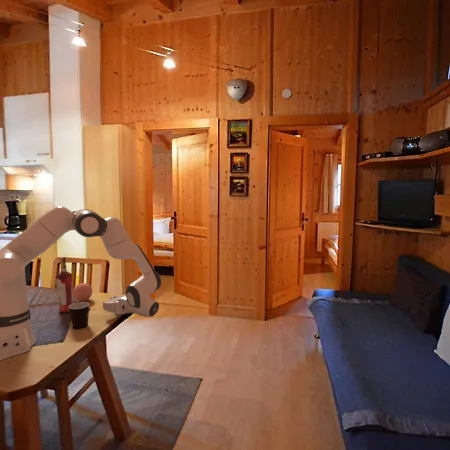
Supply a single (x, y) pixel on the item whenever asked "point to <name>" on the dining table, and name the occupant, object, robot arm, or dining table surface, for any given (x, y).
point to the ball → (82, 292)
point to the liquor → (64, 287)
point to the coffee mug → (79, 315)
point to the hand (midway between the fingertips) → (112, 298)
